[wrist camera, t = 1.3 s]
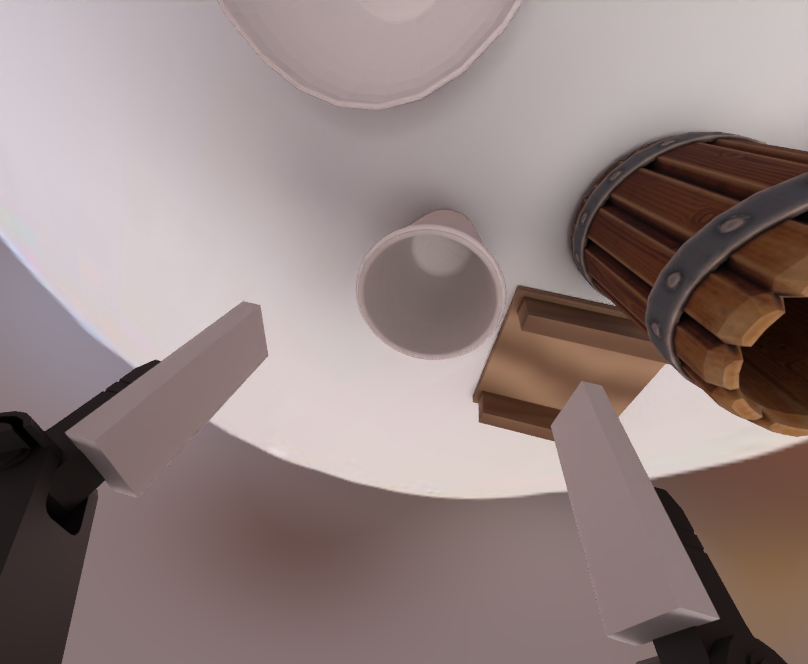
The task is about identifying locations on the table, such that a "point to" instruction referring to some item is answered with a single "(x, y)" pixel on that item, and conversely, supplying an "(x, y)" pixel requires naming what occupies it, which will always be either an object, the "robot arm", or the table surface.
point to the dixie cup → (432, 288)
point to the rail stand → (560, 360)
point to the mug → (711, 266)
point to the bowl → (370, 44)
